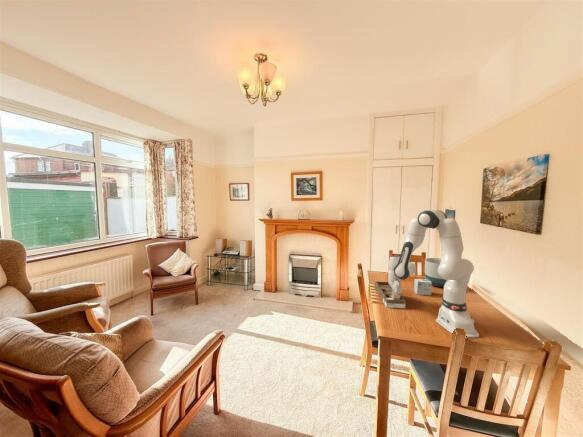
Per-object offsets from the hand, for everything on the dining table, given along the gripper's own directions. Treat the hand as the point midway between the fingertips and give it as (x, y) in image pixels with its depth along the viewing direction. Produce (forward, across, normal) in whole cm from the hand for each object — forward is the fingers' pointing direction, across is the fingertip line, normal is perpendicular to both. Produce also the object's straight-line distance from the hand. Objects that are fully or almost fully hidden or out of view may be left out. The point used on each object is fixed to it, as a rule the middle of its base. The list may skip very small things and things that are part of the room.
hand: (394, 294), depth 173 cm
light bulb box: (+4, +15, -26) cm, 30 cm away
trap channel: (+4, +5, +3) cm, 7 cm away
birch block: (+1, -5, 0) cm, 5 cm away
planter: (+4, +34, -46) cm, 57 cm away
